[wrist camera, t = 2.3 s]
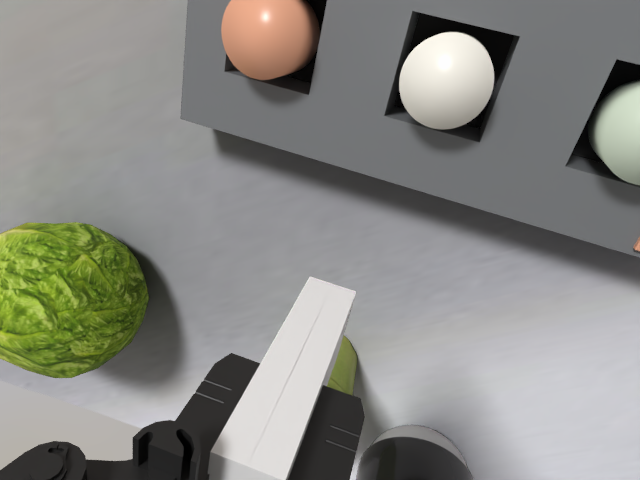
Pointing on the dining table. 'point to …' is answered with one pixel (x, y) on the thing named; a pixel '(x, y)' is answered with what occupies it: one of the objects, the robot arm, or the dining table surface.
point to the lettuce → (67, 297)
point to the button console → (442, 144)
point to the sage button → (618, 131)
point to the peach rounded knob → (270, 36)
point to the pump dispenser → (412, 457)
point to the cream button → (446, 80)
